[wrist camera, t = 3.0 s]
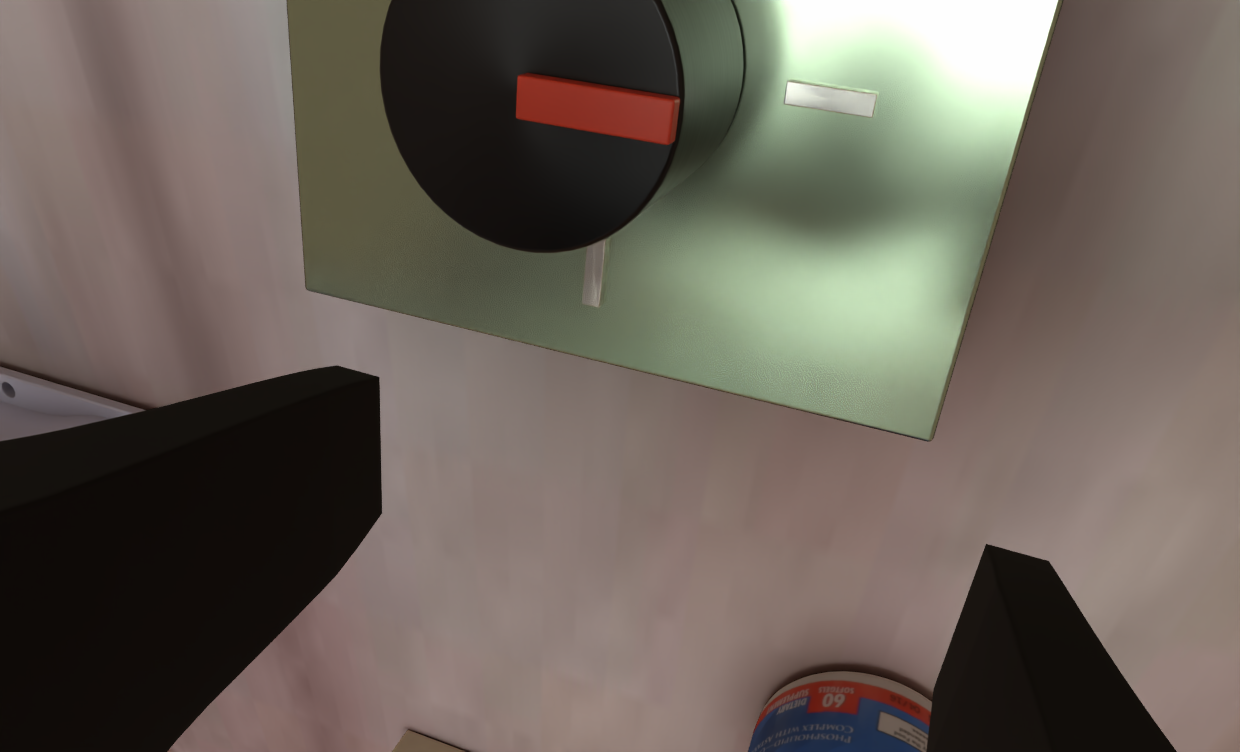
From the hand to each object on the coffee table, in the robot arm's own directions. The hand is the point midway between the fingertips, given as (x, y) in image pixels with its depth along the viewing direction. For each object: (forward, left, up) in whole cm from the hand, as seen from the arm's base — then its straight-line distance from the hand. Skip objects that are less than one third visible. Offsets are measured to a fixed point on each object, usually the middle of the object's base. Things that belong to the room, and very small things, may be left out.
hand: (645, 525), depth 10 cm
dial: (-3, +4, -7) cm, 8 cm away
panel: (-3, +4, -10) cm, 11 cm away
